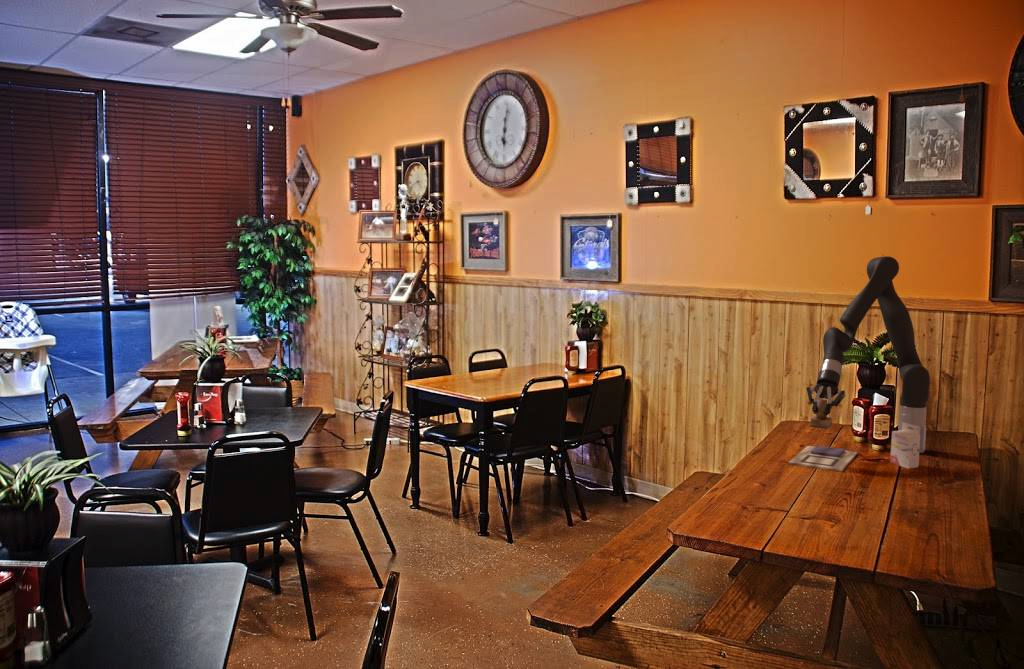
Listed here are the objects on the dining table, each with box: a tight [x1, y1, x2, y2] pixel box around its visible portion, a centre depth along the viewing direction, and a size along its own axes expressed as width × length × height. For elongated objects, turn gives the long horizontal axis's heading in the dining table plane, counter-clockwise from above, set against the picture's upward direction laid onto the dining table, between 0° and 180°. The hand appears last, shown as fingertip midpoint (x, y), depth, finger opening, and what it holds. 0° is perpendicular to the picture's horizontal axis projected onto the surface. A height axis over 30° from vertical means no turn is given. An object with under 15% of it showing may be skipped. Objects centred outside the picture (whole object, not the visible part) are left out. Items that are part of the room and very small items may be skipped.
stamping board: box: [788, 445, 858, 472], centre depth 306 cm, size 18×28×2 cm, turn 147°
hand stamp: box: [810, 398, 833, 430], centre depth 299 cm, size 6×6×9 cm
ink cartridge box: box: [889, 422, 920, 470], centre depth 297 cm, size 9×5×15 cm, turn 22°
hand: (820, 413), depth 297 cm, fingers closed on hand stamp, 3 cm apart
